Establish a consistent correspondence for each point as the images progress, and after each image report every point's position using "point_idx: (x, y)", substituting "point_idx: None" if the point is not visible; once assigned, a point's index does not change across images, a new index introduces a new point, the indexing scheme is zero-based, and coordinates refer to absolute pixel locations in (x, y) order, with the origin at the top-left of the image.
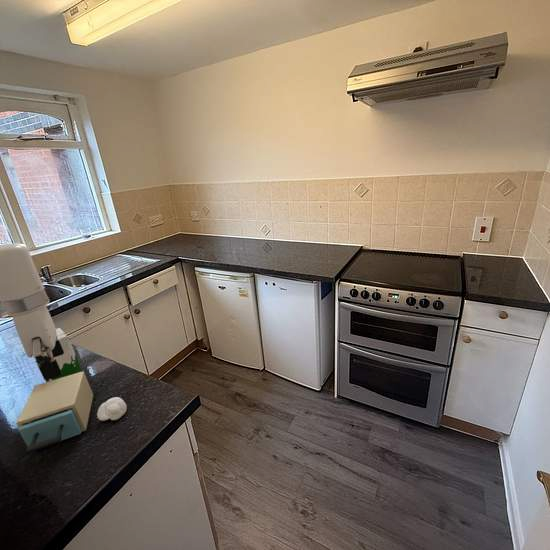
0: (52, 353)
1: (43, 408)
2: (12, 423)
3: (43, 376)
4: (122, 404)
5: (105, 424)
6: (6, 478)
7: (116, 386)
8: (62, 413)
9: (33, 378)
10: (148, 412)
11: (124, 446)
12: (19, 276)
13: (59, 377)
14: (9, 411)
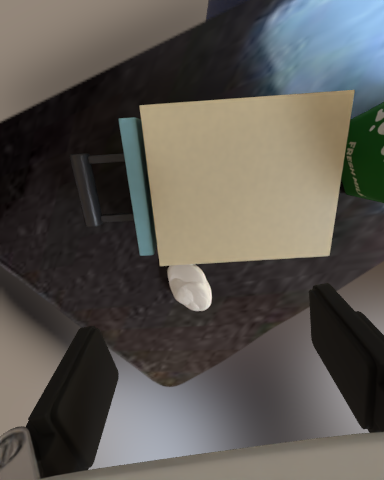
0: (322, 326)
1: (178, 179)
2: (297, 2)
3: (70, 347)
4: (190, 308)
5: None
6: (85, 85)
7: (291, 269)
8: (146, 233)
9: None
10: (167, 333)
11: (97, 303)
12: None
13: (369, 163)
14: None
